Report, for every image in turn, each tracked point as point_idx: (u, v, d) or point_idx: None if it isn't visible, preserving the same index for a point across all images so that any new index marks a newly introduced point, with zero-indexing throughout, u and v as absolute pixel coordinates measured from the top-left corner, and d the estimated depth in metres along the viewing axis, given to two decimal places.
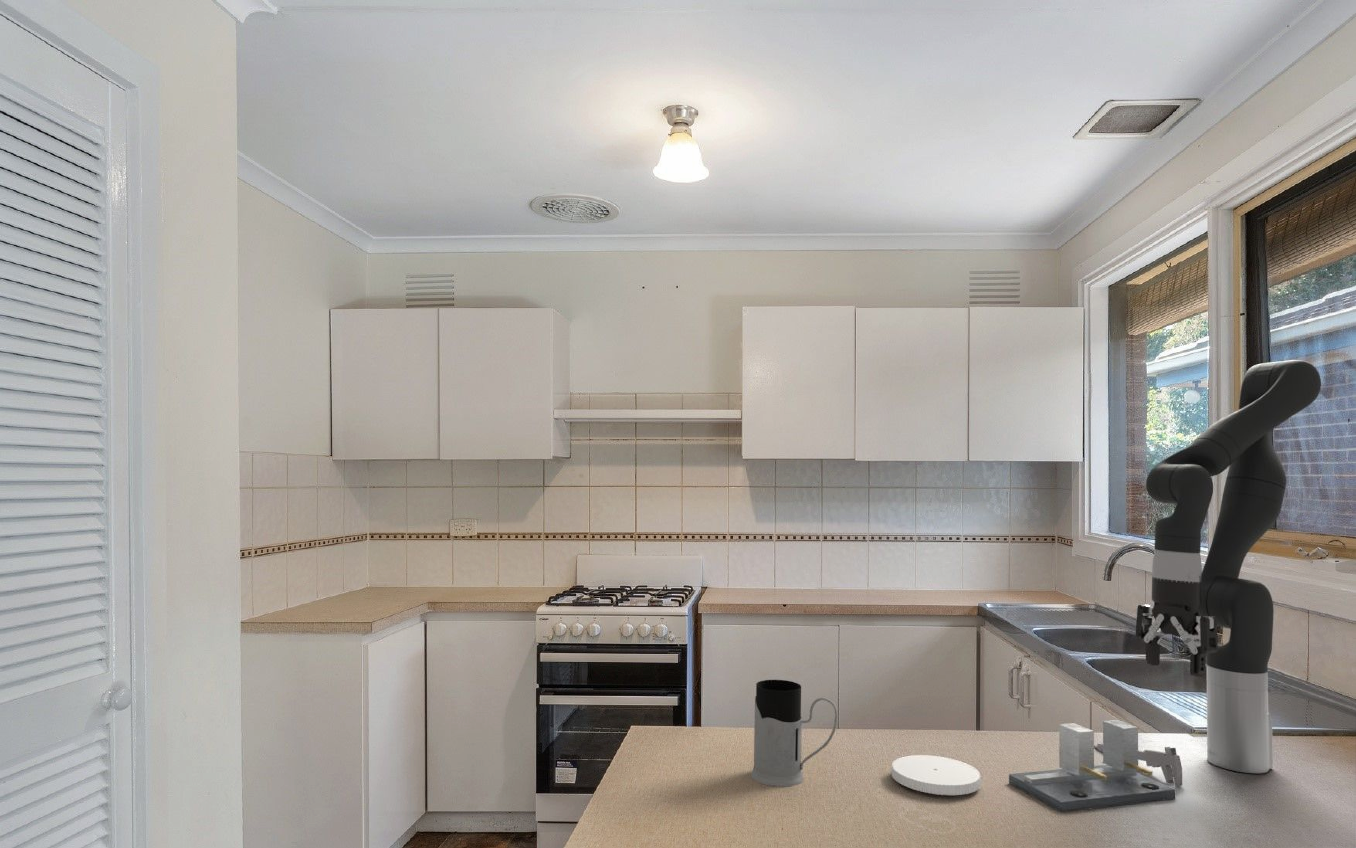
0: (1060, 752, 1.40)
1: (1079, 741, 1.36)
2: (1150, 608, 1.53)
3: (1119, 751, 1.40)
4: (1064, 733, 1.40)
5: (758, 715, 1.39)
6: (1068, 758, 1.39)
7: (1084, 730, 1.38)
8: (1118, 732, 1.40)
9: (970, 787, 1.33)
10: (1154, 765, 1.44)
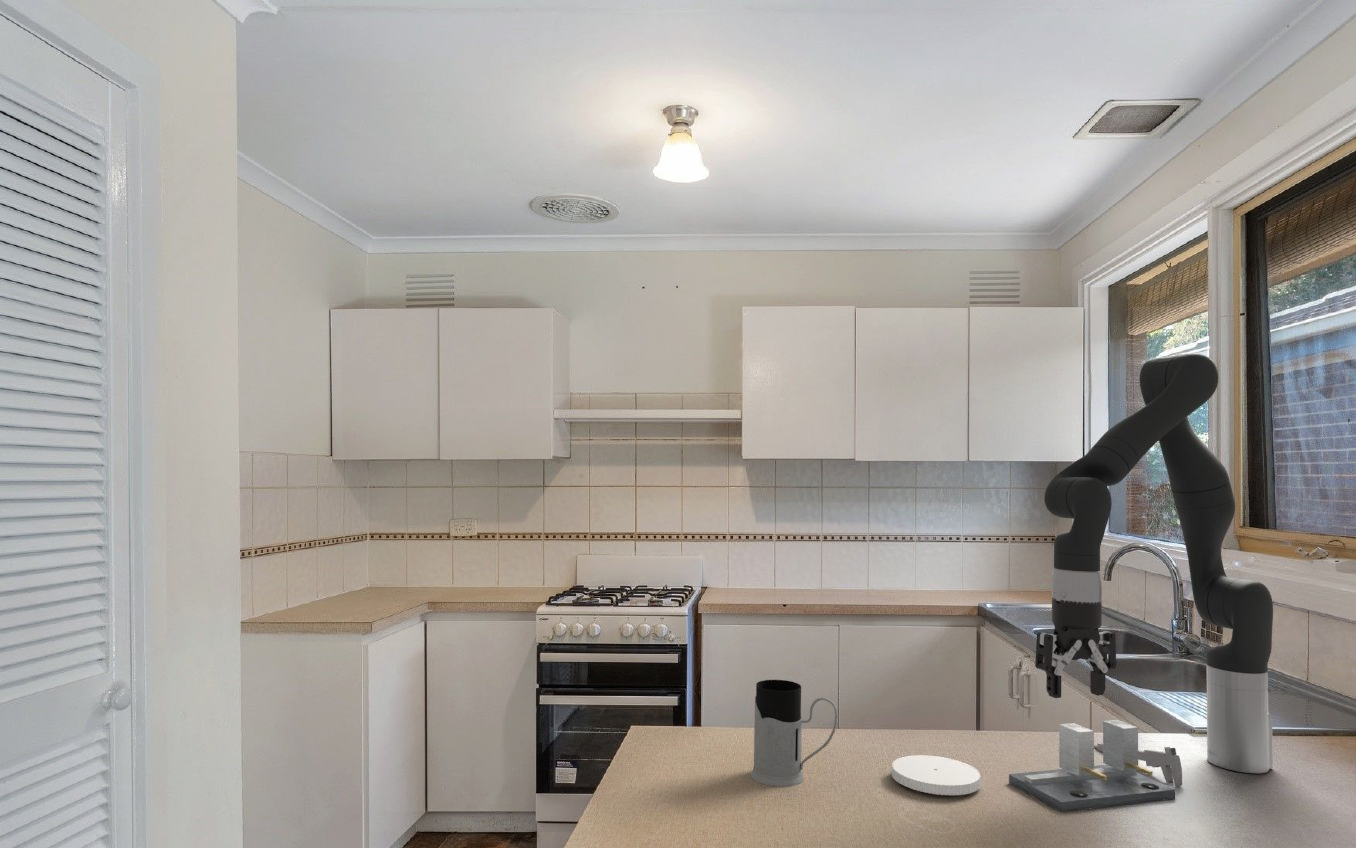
0: (1060, 752, 1.40)
1: (1079, 741, 1.36)
2: (1054, 636, 1.38)
3: (1119, 751, 1.40)
4: (1064, 733, 1.40)
5: (758, 715, 1.39)
6: (1068, 758, 1.39)
7: (1084, 730, 1.38)
8: (1118, 732, 1.40)
9: (970, 787, 1.33)
10: (1154, 765, 1.44)
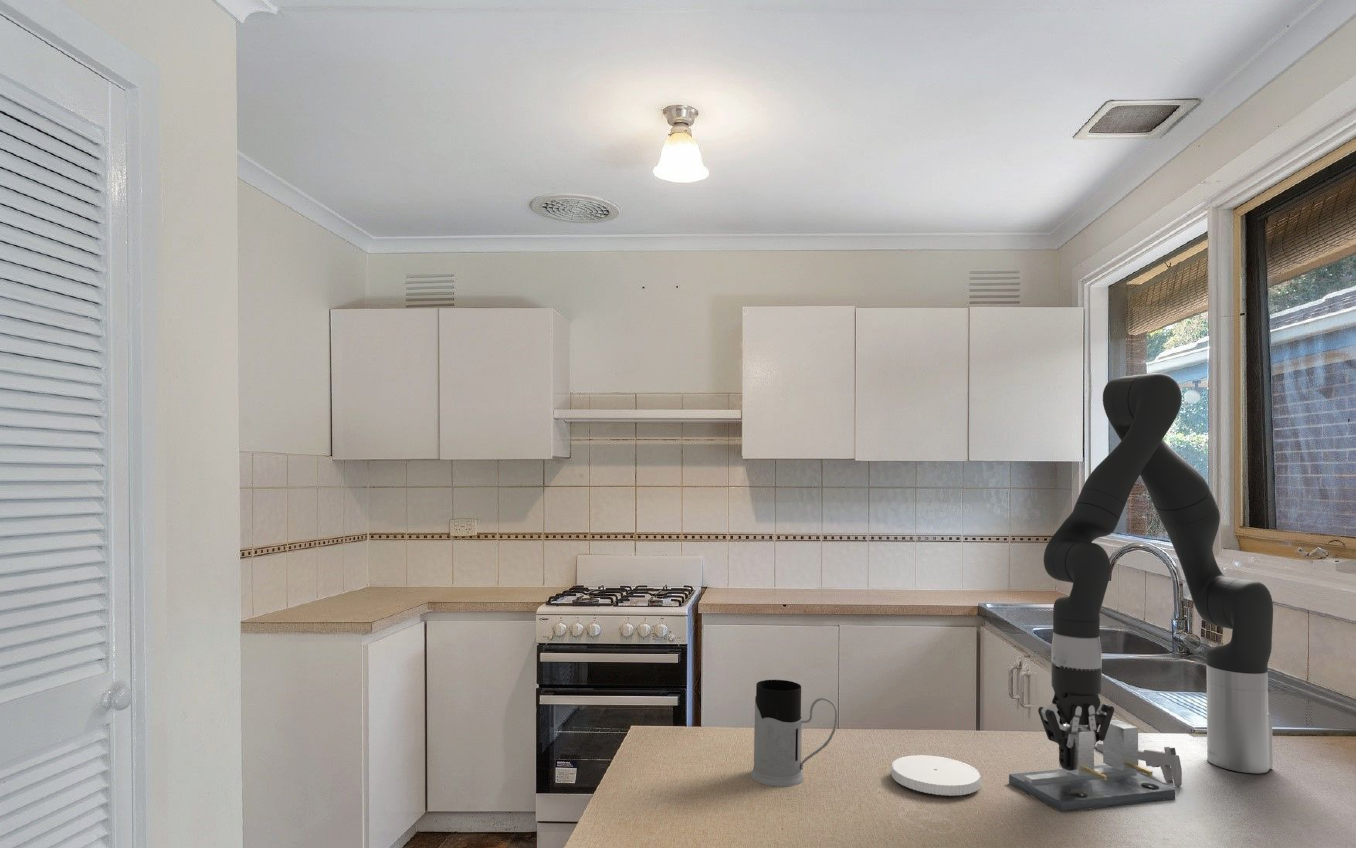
0: None
1: (1079, 741, 1.36)
2: (1054, 707, 1.37)
3: (1119, 751, 1.40)
4: None
5: (758, 715, 1.39)
6: None
7: (1084, 730, 1.38)
8: (1118, 732, 1.40)
9: (970, 787, 1.33)
10: (1154, 765, 1.44)
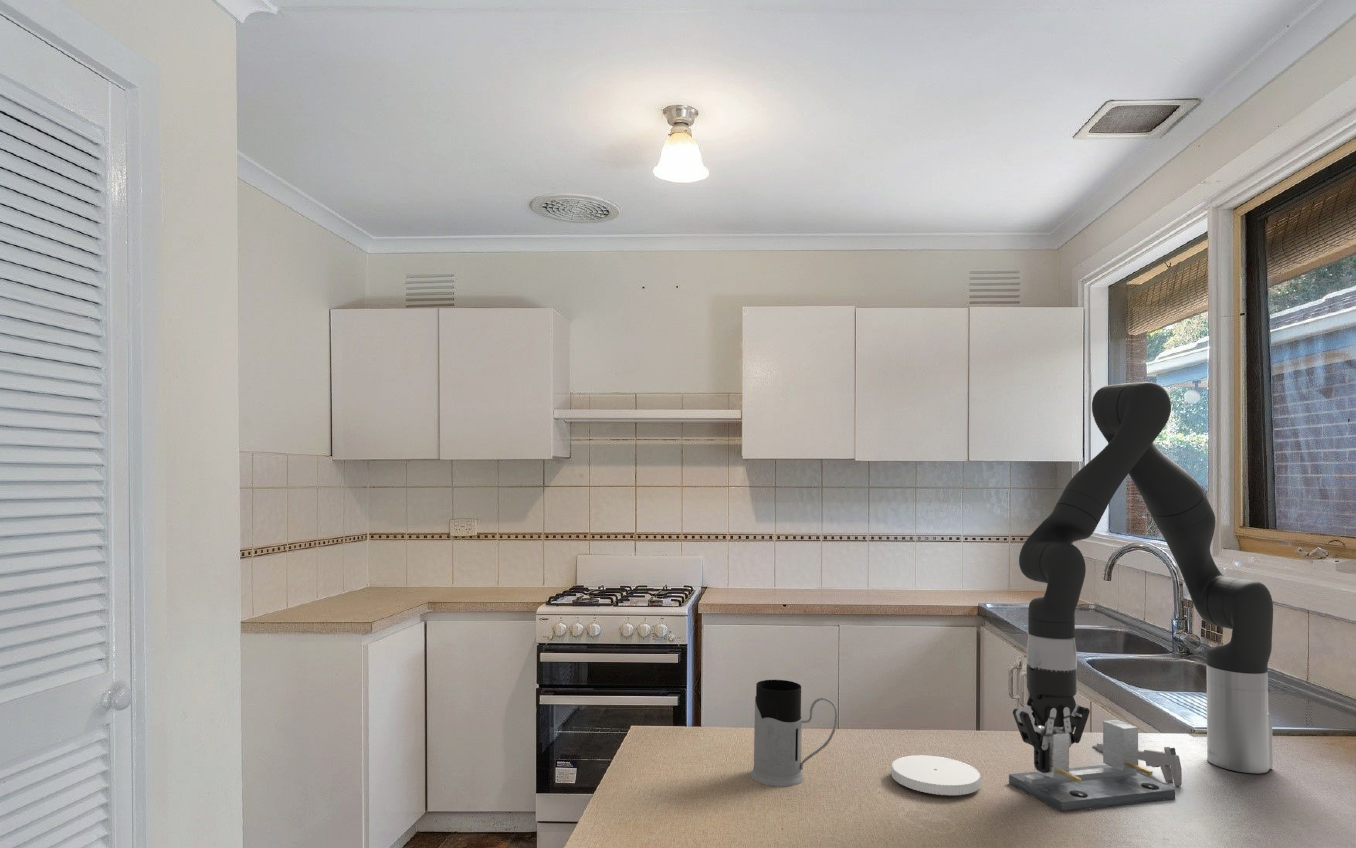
0: None
1: (1054, 743, 1.35)
2: (1028, 709, 1.36)
3: (1119, 751, 1.40)
4: None
5: (758, 715, 1.39)
6: None
7: (1059, 732, 1.36)
8: (1118, 732, 1.40)
9: (970, 787, 1.33)
10: (1153, 765, 1.44)
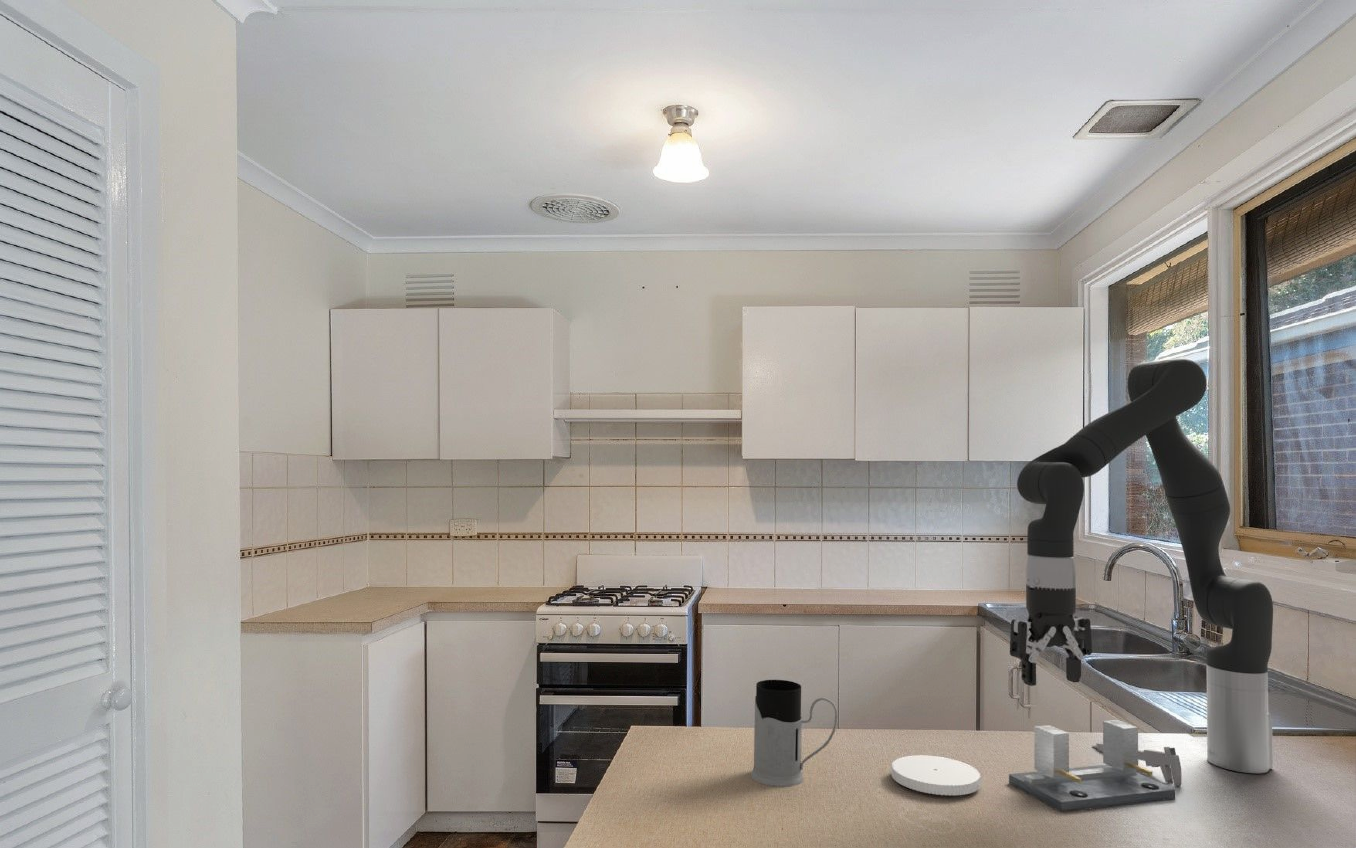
0: (1035, 754, 1.39)
1: (1054, 743, 1.35)
2: (1028, 623, 1.37)
3: (1119, 751, 1.40)
4: (1039, 735, 1.38)
5: (758, 715, 1.39)
6: (1043, 760, 1.37)
7: (1059, 732, 1.36)
8: (1118, 732, 1.40)
9: (970, 787, 1.33)
10: (1153, 765, 1.45)
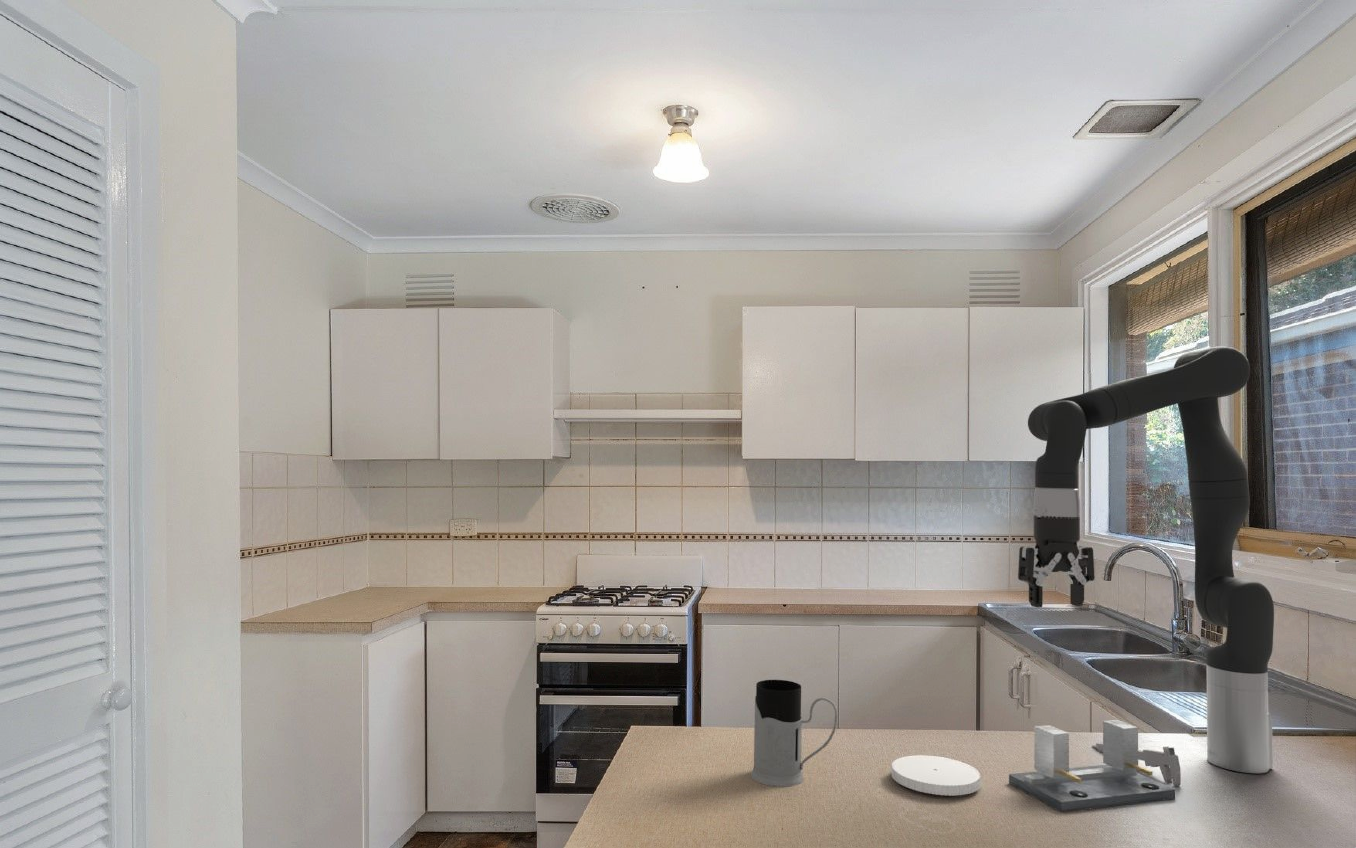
0: (1035, 754, 1.39)
1: (1054, 743, 1.35)
2: (1035, 549, 1.47)
3: (1119, 751, 1.40)
4: (1039, 735, 1.38)
5: (758, 715, 1.39)
6: (1043, 760, 1.37)
7: (1059, 732, 1.36)
8: (1118, 732, 1.40)
9: (970, 787, 1.33)
10: (1152, 765, 1.45)
